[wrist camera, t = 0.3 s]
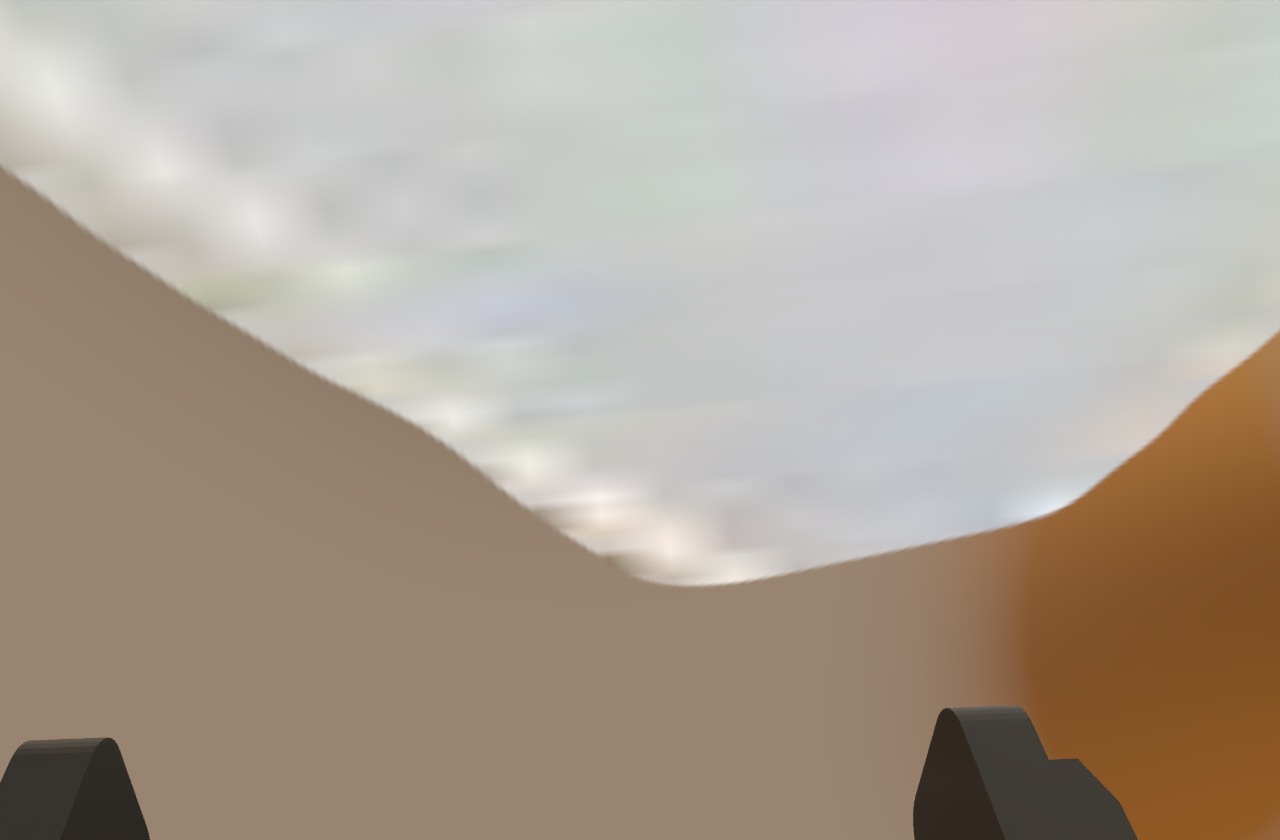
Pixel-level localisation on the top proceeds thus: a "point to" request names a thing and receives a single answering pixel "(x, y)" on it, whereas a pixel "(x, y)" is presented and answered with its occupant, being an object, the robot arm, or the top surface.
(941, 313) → the top surface
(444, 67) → the top surface
